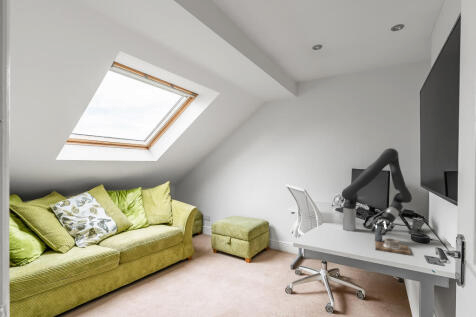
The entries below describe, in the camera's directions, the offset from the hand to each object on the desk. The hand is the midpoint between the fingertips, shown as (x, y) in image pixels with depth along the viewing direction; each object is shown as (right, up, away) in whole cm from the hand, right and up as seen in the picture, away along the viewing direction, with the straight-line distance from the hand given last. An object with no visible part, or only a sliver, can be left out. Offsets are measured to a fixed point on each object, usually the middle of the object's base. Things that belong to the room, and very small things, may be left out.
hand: (377, 232), depth 169 cm
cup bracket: (+1, -6, -14) cm, 16 cm away
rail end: (+1, -6, 0) cm, 6 cm away
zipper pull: (+44, -7, +24) cm, 51 cm away
